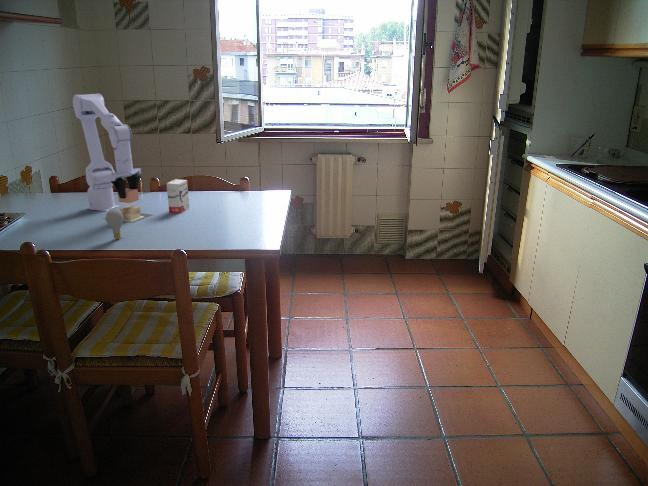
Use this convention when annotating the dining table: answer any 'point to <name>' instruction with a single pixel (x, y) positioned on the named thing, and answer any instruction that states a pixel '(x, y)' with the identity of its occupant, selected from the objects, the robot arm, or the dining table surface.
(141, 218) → the grey flat panel
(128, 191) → the terracotta block
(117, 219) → the light bulb
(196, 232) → the dining table surface
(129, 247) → the dining table surface
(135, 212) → the beech block
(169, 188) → the ink box
